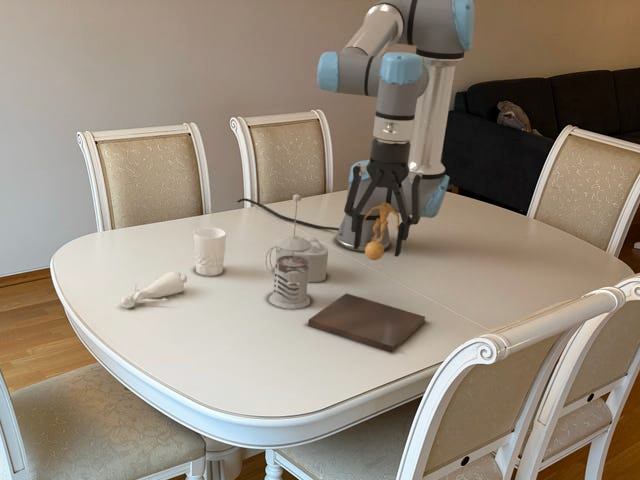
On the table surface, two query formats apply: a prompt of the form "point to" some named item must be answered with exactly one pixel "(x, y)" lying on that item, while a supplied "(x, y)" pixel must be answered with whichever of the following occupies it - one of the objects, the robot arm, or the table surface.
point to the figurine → (375, 248)
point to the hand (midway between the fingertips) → (377, 250)
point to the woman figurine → (156, 290)
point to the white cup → (209, 250)
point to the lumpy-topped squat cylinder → (310, 260)
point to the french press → (289, 293)
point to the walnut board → (367, 322)
